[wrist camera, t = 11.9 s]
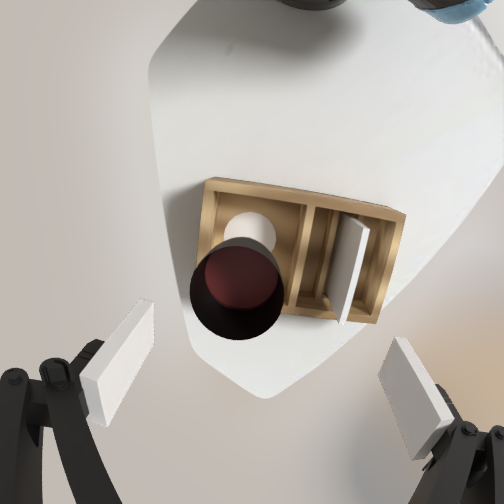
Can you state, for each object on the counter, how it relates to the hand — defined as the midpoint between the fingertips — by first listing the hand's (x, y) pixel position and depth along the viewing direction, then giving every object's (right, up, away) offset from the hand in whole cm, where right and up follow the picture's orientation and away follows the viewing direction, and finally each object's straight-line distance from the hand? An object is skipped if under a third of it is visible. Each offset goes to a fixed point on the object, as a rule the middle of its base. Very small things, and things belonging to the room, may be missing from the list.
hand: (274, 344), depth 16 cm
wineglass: (-1, +7, +30) cm, 30 cm away
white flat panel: (+11, +5, +29) cm, 32 cm away
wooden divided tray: (+5, +6, +30) cm, 31 cm away
